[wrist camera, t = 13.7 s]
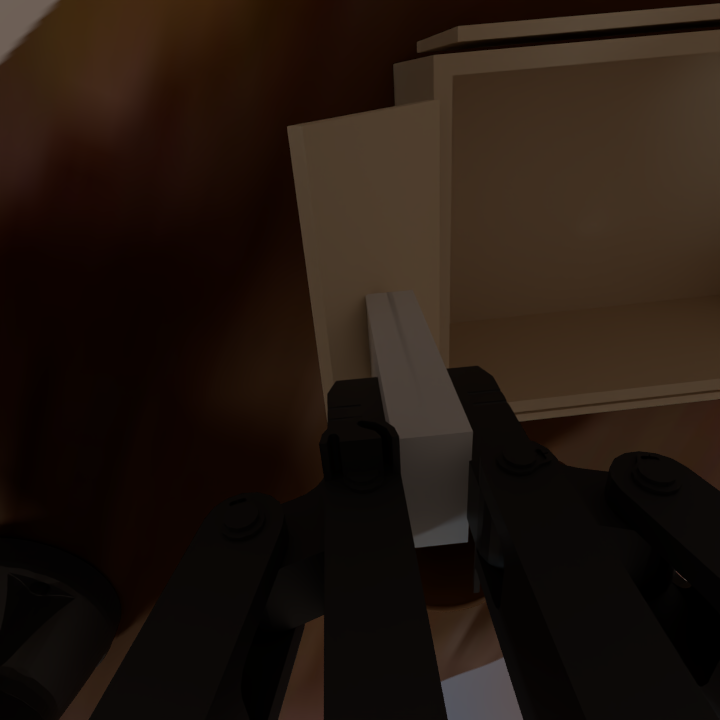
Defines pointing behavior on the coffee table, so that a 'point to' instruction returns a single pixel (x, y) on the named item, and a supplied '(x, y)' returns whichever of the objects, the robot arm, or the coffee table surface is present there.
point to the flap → (367, 223)
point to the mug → (449, 576)
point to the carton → (579, 207)
